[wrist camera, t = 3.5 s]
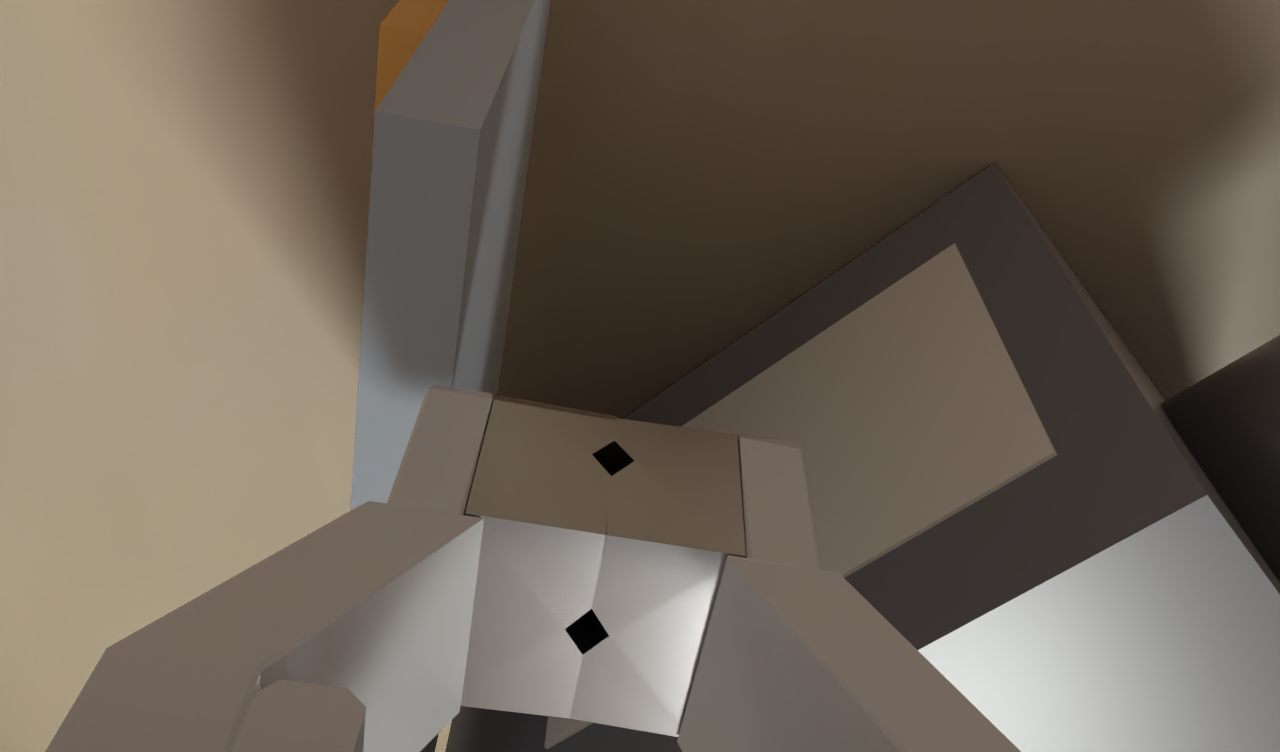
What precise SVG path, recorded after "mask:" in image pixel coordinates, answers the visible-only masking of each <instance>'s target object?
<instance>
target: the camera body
mask: <svg viewBox="0 0 1280 752" xmlns="http://www.w3.org/2000/svg"><path fill="white" fill-rule="evenodd" d="M623 419H627V420H634V421H641V422H649V423H656V424H664V425H671V426H678V427H686V428H693V429H700V430H708V431H715V432H722V433H730V434H742V435H750V436H759V437H767V438H775V439H783V440H791V441H795V442H796V443H797V444H798V445H799V446H800V447H801V450H802V456H803V462H804V469H805V475H806V481H807V488H808V494H809V500H810V507H811V513H812V519H813V526H814V532H815V538H816V544H817V551H818V557H819V563H820V570H826V571H832V572H838V573H839V574H840V575H841V576H842V577H843V578H844V579H845V580H846V581H847V582H848V583H849V584H850V585H852V586H853V587H854V588H855V589H856V590H857V591H858V592H859V593H860V594H861V595H862V596H863V597H864V598H865V599H866V600H867V601H868V602H869V603H870V604H871V605H872V606H873V607H874V608H875V609H876V610H877V611H878V612H879V613H880V614H881V615H882V616H883V617H884V618H885V619H886V620H887V621H888V622H889V623H890V624H891V625H892V626H893V627H894V628H895V629H896V630H897V631H898V632H899V633H901V634H902V635H903V636H904V637H905V638H906V639H907V640H908V641H909V642H910V643H911V644H912V645H913V646H914V647H915V648H916V649H917V650H918V651H919V652H920V653H921V654H922V655H923V656H924V657H925V658H926V659H927V660H928V661H929V662H930V663H931V664H932V665H933V666H934V667H935V668H936V669H937V670H938V671H939V672H940V673H941V674H942V675H943V676H944V677H945V678H946V679H947V680H948V681H949V682H951V683H952V684H953V685H954V686H955V687H956V688H957V689H958V690H959V691H960V692H961V693H962V694H963V695H964V696H965V697H966V698H967V699H968V700H969V701H970V702H971V703H972V704H973V705H974V706H975V707H976V708H977V709H978V710H979V711H980V712H981V713H982V714H983V715H984V716H985V717H986V718H987V719H988V720H989V721H990V722H991V723H992V724H993V725H994V726H995V727H996V728H997V729H998V730H1000V731H1001V732H1002V733H1003V734H1004V735H1005V736H1006V737H1007V738H1008V739H1009V740H1010V741H1011V742H1012V743H1013V744H1014V745H1015V746H1016V747H1017V748H1018V749H1019V750H1020V751H1021V752H1280V335H1279V336H1278V337H1276V338H1274V339H1272V340H1271V341H1269V342H1267V343H1265V344H1264V345H1262V346H1260V347H1258V348H1257V349H1255V350H1253V351H1251V352H1250V353H1248V354H1246V355H1244V356H1243V357H1241V358H1239V359H1238V360H1236V361H1234V362H1232V363H1231V364H1229V365H1227V366H1225V367H1224V368H1222V369H1220V370H1218V371H1217V372H1215V373H1213V374H1211V375H1210V376H1208V377H1206V378H1204V379H1203V380H1201V381H1199V382H1198V383H1196V384H1194V385H1192V386H1191V387H1189V388H1187V389H1185V390H1184V391H1182V392H1180V393H1178V394H1177V395H1175V396H1173V397H1171V398H1170V399H1168V400H1166V401H1165V400H1164V398H1163V397H1162V396H1161V394H1160V393H1159V391H1158V390H1157V389H1156V387H1155V386H1154V384H1153V383H1152V382H1151V380H1150V379H1149V377H1148V376H1147V375H1146V373H1145V372H1144V371H1143V369H1142V368H1141V366H1140V365H1139V364H1138V362H1137V361H1136V359H1135V358H1134V357H1133V355H1132V354H1131V352H1130V351H1129V350H1128V348H1127V347H1126V345H1125V344H1124V343H1123V341H1122V340H1121V338H1120V337H1119V336H1118V334H1117V333H1116V331H1115V330H1114V329H1113V327H1112V326H1111V324H1110V323H1109V322H1108V320H1107V319H1106V317H1105V316H1104V315H1103V313H1102V312H1101V310H1100V309H1099V308H1098V306H1097V305H1096V303H1095V302H1094V301H1093V299H1092V298H1091V296H1090V295H1089V294H1088V292H1087V291H1086V290H1085V288H1084V287H1083V285H1082V284H1081V283H1080V281H1079V280H1078V278H1077V277H1076V276H1075V274H1074V273H1073V271H1072V270H1071V269H1070V267H1069V266H1068V264H1067V263H1066V262H1065V260H1064V259H1063V257H1062V256H1061V255H1060V253H1059V252H1058V250H1057V249H1056V248H1055V246H1054V245H1053V243H1052V242H1051V241H1050V239H1049V238H1048V236H1047V235H1046V234H1045V232H1044V231H1043V229H1042V228H1041V227H1040V225H1039V224H1038V222H1037V221H1036V220H1035V218H1034V217H1033V215H1032V214H1031V213H1030V211H1029V210H1028V209H1027V207H1026V206H1025V204H1024V203H1023V202H1022V200H1021V199H1020V197H1019V196H1018V195H1017V193H1016V192H1015V190H1014V189H1013V188H1012V186H1011V185H1010V183H1009V182H1008V181H1007V179H1006V178H1005V176H1004V175H1003V174H1002V172H1001V171H1000V169H999V168H998V167H997V165H996V164H995V162H994V163H993V164H991V165H990V166H989V167H987V168H986V169H984V170H983V171H981V172H980V173H978V174H977V175H975V176H974V177H973V178H971V179H970V180H968V181H967V182H965V183H964V184H962V185H961V186H960V187H958V188H957V189H955V190H954V191H952V192H951V193H949V194H948V195H946V196H945V197H944V198H942V199H941V200H939V201H938V202H936V203H935V204H933V205H932V206H931V207H929V208H928V209H926V210H925V211H923V212H922V213H920V214H919V215H918V216H916V217H915V218H913V219H912V220H910V221H909V222H907V223H906V224H904V225H903V226H902V227H900V228H899V229H897V230H896V231H894V232H893V233H891V234H890V235H889V236H887V237H886V238H884V239H883V240H881V241H880V242H878V243H877V244H875V245H874V246H873V247H871V248H870V249H868V250H867V251H865V252H864V253H862V254H861V255H860V256H858V257H857V258H855V259H854V260H852V261H851V262H849V263H848V264H846V265H845V266H844V267H842V268H841V269H839V270H838V271H836V272H835V273H833V274H832V275H831V276H829V277H828V278H826V279H825V280H823V281H822V282H820V283H819V284H818V285H816V286H815V287H813V288H812V289H810V290H809V291H807V292H806V293H804V294H803V295H802V296H800V297H799V298H797V299H796V300H794V301H793V302H791V303H790V304H789V305H787V306H786V307H784V308H783V309H781V310H780V311H778V312H777V313H775V314H774V315H773V316H771V317H770V318H768V319H767V320H765V321H764V322H762V323H761V324H760V325H758V326H757V327H755V328H754V329H752V330H751V331H749V332H748V333H747V334H745V335H744V336H742V337H741V338H739V339H738V340H736V341H735V342H733V343H732V344H731V345H729V346H728V347H726V348H725V349H723V350H722V351H720V352H719V353H718V354H716V355H715V356H713V357H712V358H710V359H709V360H707V361H706V362H704V363H703V364H702V365H700V366H699V367H697V368H696V369H694V370H693V371H691V372H690V373H689V374H687V375H686V376H684V377H683V378H681V379H680V380H678V381H677V382H676V383H674V384H673V385H671V386H670V387H668V388H667V389H665V390H664V391H662V392H661V393H660V394H658V395H657V396H655V397H654V398H652V399H651V400H649V401H648V402H647V403H645V404H644V405H642V406H641V407H639V408H638V409H636V410H635V411H633V412H632V413H631V414H629V415H628V416H626V417H625V418H623ZM570 717H571V715H570ZM677 740H678V737H675V736H669V735H663V734H657V733H651V732H646V731H640V730H634V729H628V728H622V727H616V726H610V725H604V724H599V723H593V722H587V721H581V720H575V719H570V718H561V717H552V716H544V715H535V714H526V713H518V712H509V711H500V710H492V709H483V708H474V707H466V706H460V712H459V713H458V714H457V715H456V716H455V717H454V718H453V719H452V723H451V728H450V733H449V737H448V742H447V747H446V752H683V751H682V749H681V748H680V746H679V744H678V743H677Z"/></svg>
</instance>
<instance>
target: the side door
mask: <svg viewBox="0 0 1280 752" xmlns="http://www.w3.org/2000/svg"><path fill="white" fill-rule="evenodd" d="M550 3H551V0H400V1H399V2H398V3H397V4H396V5H395V7H394V8H393V9H392V10H391V11H390V13H389V14H388V15H387V16H386V18H385V19H384V20H383V21H382V22H381V24H380V25H379V40H378V56H377V72H376V89H375V105H374V122H373V126H374V135H373V151H372V167H371V184H370V200H369V216H368V233H367V249H366V265H365V282H364V298H363V315H362V331H361V347H360V364H359V380H358V396H357V413H356V429H355V445H354V462H353V478H352V495H351V510H353V509H355V508H356V507H358V506H360V505H362V504H363V503H365V502H367V501H374V502H381V503H387V501H388V498H389V496H390V493H391V490H392V487H393V484H394V481H395V479H396V476H397V473H398V470H399V467H400V465H401V462H402V459H403V456H404V453H405V451H406V448H407V445H408V442H409V439H410V436H411V434H412V431H413V428H414V425H415V422H416V420H417V417H418V414H419V411H420V408H421V405H422V403H423V400H424V397H425V394H426V392H427V391H428V390H429V389H430V388H431V387H432V386H433V385H440V386H446V387H453V388H460V389H466V390H473V391H480V392H486V393H491V394H492V395H493V397H494V398H495V397H496V395H498V388H499V381H500V373H501V366H502V359H503V351H504V344H505V336H506V329H507V322H508V314H509V307H510V299H511V292H512V285H513V277H514V270H515V262H516V255H517V248H518V240H519V233H520V225H521V218H522V211H523V203H524V196H525V188H526V181H527V173H528V166H529V159H530V151H531V144H532V136H533V129H534V122H535V114H536V107H537V99H538V92H539V85H540V77H541V70H542V62H543V55H544V48H545V40H546V33H547V25H548V18H549V11H550ZM438 734H439V733H438ZM438 734H437V735H436V736H435V737H434V738H433V739H432V740H431V741H430V742H429V743H428V744H427V745H426V746H425V747H424V748H423V749H422V750H421V751H420V752H435V747H436V743H437V738H438Z"/></svg>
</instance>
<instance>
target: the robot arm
mask: <svg viewBox="0 0 1280 752" xmlns="http://www.w3.org/2000/svg"><path fill="white" fill-rule="evenodd" d="M460 706H466V707H474V708H483V709H492V710H500V711H509V712H518V713H526V714H535V715H544V716H552V717H561V718H570V719H575V720H581V721H587V722H593V723H599V724H604V725H610V726H616V727H622V728H628V729H634V730H640V731H646V732H651V733H657V734H663V735H669V736H675V737H678V740H677V743H678V744H679V746H680V748H681V749H682V751H683V752H1021V751H1020V750H1019V749H1018V748H1017V747H1016V746H1015V745H1014V744H1013V743H1012V742H1011V741H1010V740H1009V739H1008V738H1007V737H1006V736H1005V735H1004V734H1003V733H1002V732H1001V731H1000V730H998V729H997V728H996V727H995V726H994V725H993V724H992V723H991V722H990V721H989V720H988V719H987V718H986V717H985V716H984V715H983V714H982V713H981V712H980V711H979V710H978V709H977V708H976V707H975V706H974V705H973V704H972V703H971V702H970V701H969V700H968V699H967V698H966V697H965V696H964V695H963V694H962V693H961V692H960V691H959V690H958V689H957V688H956V687H955V686H954V685H953V684H952V683H951V682H949V681H948V680H947V679H946V678H945V677H944V676H943V675H942V674H941V673H940V672H939V671H938V670H937V669H936V668H935V667H934V666H933V665H932V664H931V663H930V662H929V661H928V660H927V659H926V658H925V657H924V656H923V655H922V654H921V653H920V652H919V651H918V650H917V649H916V648H915V647H914V646H913V645H912V644H911V643H910V642H909V641H908V640H907V639H906V638H905V637H904V636H903V635H902V634H901V633H899V632H898V631H897V630H896V629H895V628H894V627H893V626H892V625H891V624H890V623H889V622H888V621H887V620H886V619H885V618H884V617H883V616H882V615H881V614H880V613H879V612H878V611H877V610H876V609H875V608H874V607H873V606H872V605H871V604H870V603H869V602H868V601H867V600H866V599H865V598H864V597H863V596H862V595H861V594H860V593H859V592H858V591H857V590H856V589H855V588H854V587H853V586H852V585H850V584H849V583H848V582H847V581H846V580H845V579H844V578H843V577H842V576H841V575H840V574H839V573H838V572H832V571H826V570H820V563H819V557H818V551H817V544H816V538H815V532H814V526H813V519H812V513H811V507H810V500H809V494H808V488H807V481H806V475H805V469H804V462H803V456H802V450H801V447H800V446H799V445H798V444H797V443H796V442H795V441H791V440H783V439H775V438H767V437H759V436H750V435H742V434H730V433H722V432H715V431H708V430H700V429H693V428H686V427H678V426H671V425H664V424H656V423H649V422H641V421H634V420H627V419H619V418H616V416H613V415H607V414H601V413H596V412H590V411H585V410H579V409H574V408H568V407H562V406H557V405H551V404H546V403H540V402H535V401H529V400H523V399H518V398H512V397H507V396H501V395H496V397H495V398H494V397H493V395H492V394H491V393H486V392H480V391H473V390H466V389H460V388H453V387H446V386H440V385H433V386H432V387H431V388H430V389H429V390H428V391H427V392H426V394H425V397H424V400H423V403H422V405H421V408H420V411H419V414H418V417H417V420H416V422H415V425H414V428H413V431H412V434H411V436H410V439H409V442H408V445H407V448H406V451H405V453H404V456H403V459H402V462H401V465H400V467H399V470H398V473H397V476H396V479H395V481H394V484H393V487H392V490H391V493H390V496H389V498H388V501H387V503H381V502H374V501H367V502H365V503H363V504H362V505H360V506H358V507H356V508H355V509H353V510H351V511H349V512H347V513H346V514H344V515H342V516H340V517H339V518H337V519H335V520H333V521H331V522H330V523H328V524H326V525H324V526H323V527H321V528H319V529H317V530H316V531H314V532H312V533H310V534H308V535H307V536H305V537H303V538H301V539H300V540H298V541H296V542H294V543H292V544H291V545H289V546H287V547H285V548H284V549H282V550H280V551H278V552H277V553H275V554H273V555H271V556H269V557H268V558H266V559H264V560H262V561H261V562H259V563H257V564H255V565H253V566H252V567H250V568H248V569H246V570H245V571H243V572H241V573H239V574H238V575H236V576H234V577H232V578H230V579H229V580H227V581H225V582H223V583H222V584H220V585H218V586H216V587H214V588H213V589H211V590H209V591H207V592H206V593H204V594H202V595H200V596H199V597H197V598H195V599H193V600H191V601H190V602H188V603H186V604H184V605H183V606H181V607H179V608H177V609H175V610H174V611H172V612H170V613H168V614H167V615H165V616H163V617H161V618H160V619H158V620H156V621H154V622H152V623H151V624H149V625H147V626H145V627H144V628H142V629H140V630H138V631H136V632H135V633H133V634H131V635H129V636H128V637H126V638H124V639H122V640H121V641H119V642H117V643H115V644H113V645H112V646H110V647H108V648H107V649H106V650H105V652H104V654H103V655H102V657H101V659H100V660H99V662H98V664H97V666H96V667H95V669H94V671H93V672H92V674H91V676H90V677H89V679H88V681H87V682H86V684H85V686H84V687H83V689H82V691H81V692H80V694H79V696H78V698H77V699H76V701H75V703H74V704H73V706H72V708H71V709H70V711H69V713H68V714H67V716H66V718H65V719H64V721H63V723H62V725H61V726H60V728H59V730H58V731H57V733H56V735H55V736H54V738H53V740H52V741H51V743H50V745H49V746H48V748H47V750H46V751H45V752H420V751H421V750H422V749H423V748H424V747H425V746H426V745H427V744H428V743H429V742H430V741H431V740H432V739H433V738H434V737H435V736H436V735H437V734H438V733H439V732H440V731H441V730H442V729H443V728H444V727H445V726H446V725H447V724H448V723H449V722H450V721H451V720H452V719H453V718H454V717H455V716H456V715H457V714H458V713H459V712H460ZM570 715H571V717H570Z"/></svg>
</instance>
